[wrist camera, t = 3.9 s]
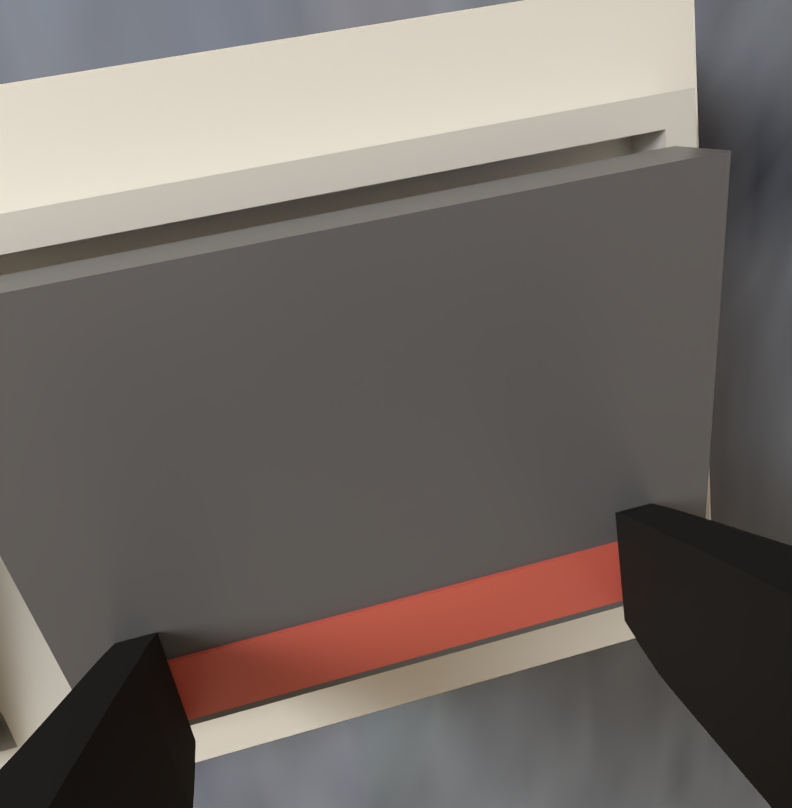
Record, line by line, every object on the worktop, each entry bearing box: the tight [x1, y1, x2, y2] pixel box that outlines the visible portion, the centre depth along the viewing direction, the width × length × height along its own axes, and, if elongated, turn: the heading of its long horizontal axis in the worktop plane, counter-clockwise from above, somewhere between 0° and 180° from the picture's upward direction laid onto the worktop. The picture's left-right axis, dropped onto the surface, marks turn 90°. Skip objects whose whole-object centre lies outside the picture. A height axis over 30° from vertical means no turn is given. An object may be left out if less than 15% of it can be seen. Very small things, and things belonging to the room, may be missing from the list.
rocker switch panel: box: [0, 0, 711, 769], centre depth 11 cm, size 25×12×4 cm, turn 101°
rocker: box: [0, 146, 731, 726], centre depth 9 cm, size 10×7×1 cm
